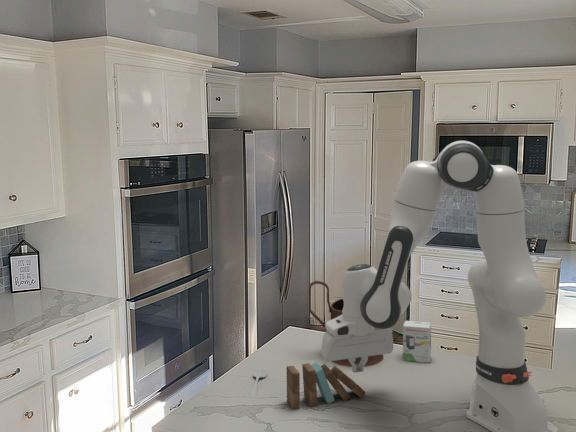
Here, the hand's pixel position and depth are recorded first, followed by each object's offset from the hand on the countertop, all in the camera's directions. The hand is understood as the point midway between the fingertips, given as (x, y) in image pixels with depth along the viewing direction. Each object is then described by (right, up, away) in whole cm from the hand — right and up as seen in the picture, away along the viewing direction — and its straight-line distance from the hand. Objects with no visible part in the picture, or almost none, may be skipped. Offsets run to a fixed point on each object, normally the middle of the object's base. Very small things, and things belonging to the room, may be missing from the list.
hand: (357, 371), depth 160 cm
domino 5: (+1, -6, +1) cm, 6 cm away
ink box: (+22, -3, +25) cm, 34 cm away
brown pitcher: (0, -3, +29) cm, 29 cm away
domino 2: (-13, -7, -3) cm, 15 cm away
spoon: (-29, -7, +7) cm, 30 cm away
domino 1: (-18, -8, -5) cm, 20 cm away
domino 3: (-8, -7, -2) cm, 11 cm away
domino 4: (-4, -6, 0) cm, 7 cm away
